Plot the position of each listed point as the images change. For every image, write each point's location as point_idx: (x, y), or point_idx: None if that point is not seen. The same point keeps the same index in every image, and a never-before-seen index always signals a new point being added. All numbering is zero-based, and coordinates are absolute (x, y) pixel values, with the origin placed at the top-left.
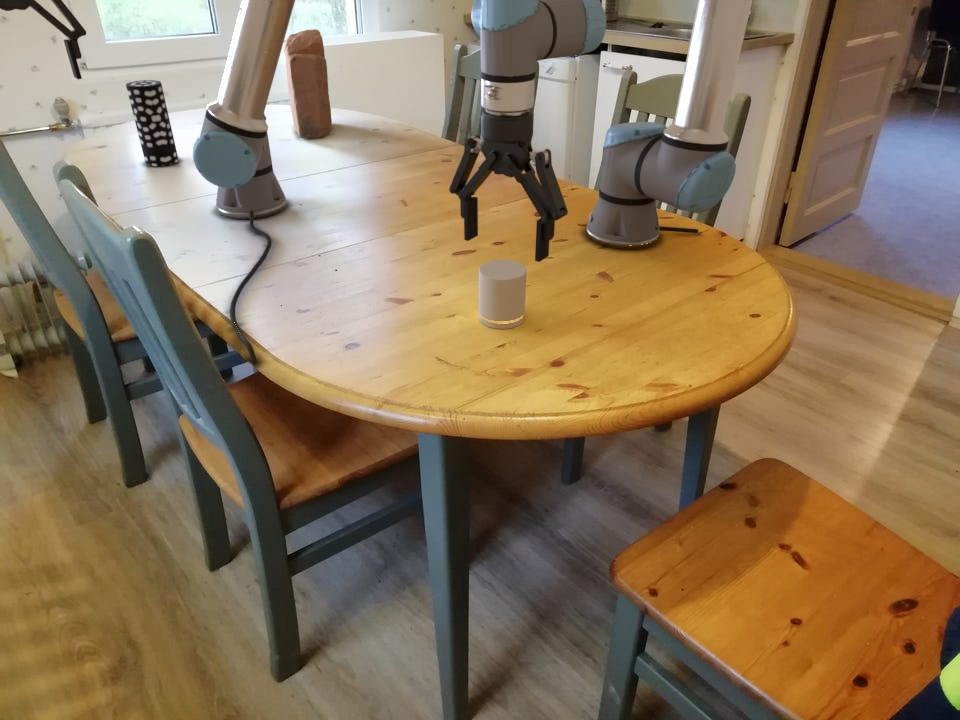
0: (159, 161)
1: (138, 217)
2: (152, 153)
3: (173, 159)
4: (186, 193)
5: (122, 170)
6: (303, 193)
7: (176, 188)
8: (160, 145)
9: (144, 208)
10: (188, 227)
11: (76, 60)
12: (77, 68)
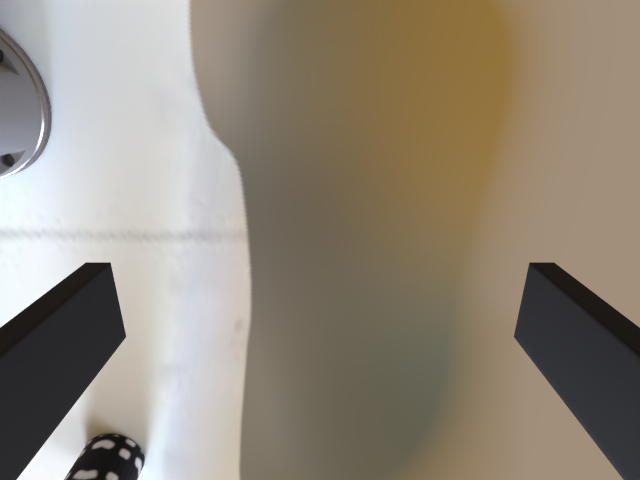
0: (117, 443)
1: (211, 193)
2: (118, 461)
3: (91, 443)
4: None
5: (189, 450)
6: None
7: None
8: (92, 469)
9: (190, 236)
10: (128, 66)
11: (12, 320)
12: (57, 291)
